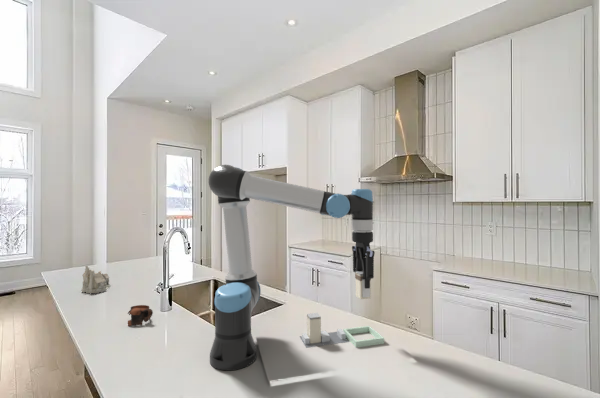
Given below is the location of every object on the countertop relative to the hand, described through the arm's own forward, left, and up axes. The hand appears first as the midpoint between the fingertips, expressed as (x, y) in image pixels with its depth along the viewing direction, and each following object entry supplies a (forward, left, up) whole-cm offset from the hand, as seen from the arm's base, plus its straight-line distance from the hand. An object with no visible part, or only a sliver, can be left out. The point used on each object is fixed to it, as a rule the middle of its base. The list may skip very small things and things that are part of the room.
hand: (363, 294), depth 113 cm
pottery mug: (-83, +43, -18) cm, 95 cm away
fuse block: (-14, +4, -17) cm, 23 cm away
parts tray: (0, 0, -17) cm, 17 cm away
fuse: (-18, +4, -16) cm, 24 cm away
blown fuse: (0, 0, -1) cm, 1 cm away
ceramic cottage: (-119, +102, -18) cm, 158 cm away
